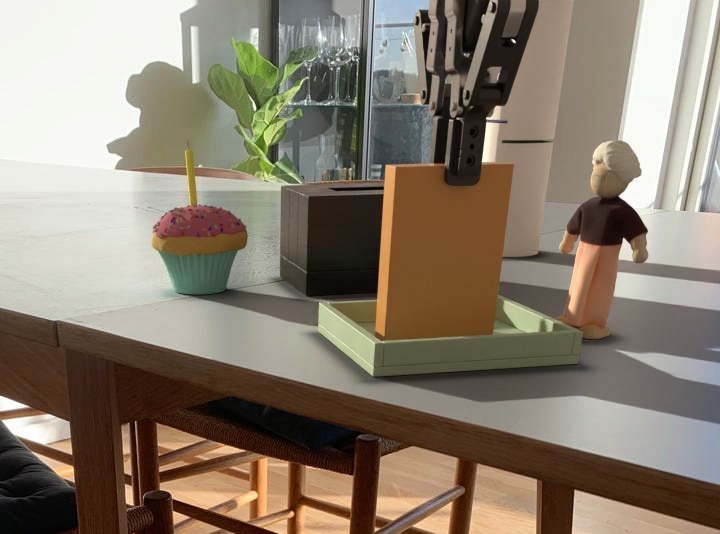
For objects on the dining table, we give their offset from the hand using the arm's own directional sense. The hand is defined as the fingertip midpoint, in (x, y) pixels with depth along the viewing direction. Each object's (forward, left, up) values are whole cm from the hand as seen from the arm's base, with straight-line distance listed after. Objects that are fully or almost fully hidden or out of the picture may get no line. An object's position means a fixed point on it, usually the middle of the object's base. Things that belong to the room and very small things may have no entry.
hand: (453, 182), depth 61 cm
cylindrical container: (-23, -39, -11) cm, 47 cm away
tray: (0, 0, -11) cm, 11 cm away
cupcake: (+13, -25, -11) cm, 30 cm away
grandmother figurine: (-12, -1, -11) cm, 16 cm away
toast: (0, 0, -10) cm, 10 cm away
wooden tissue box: (-3, -25, -11) cm, 27 cm away
